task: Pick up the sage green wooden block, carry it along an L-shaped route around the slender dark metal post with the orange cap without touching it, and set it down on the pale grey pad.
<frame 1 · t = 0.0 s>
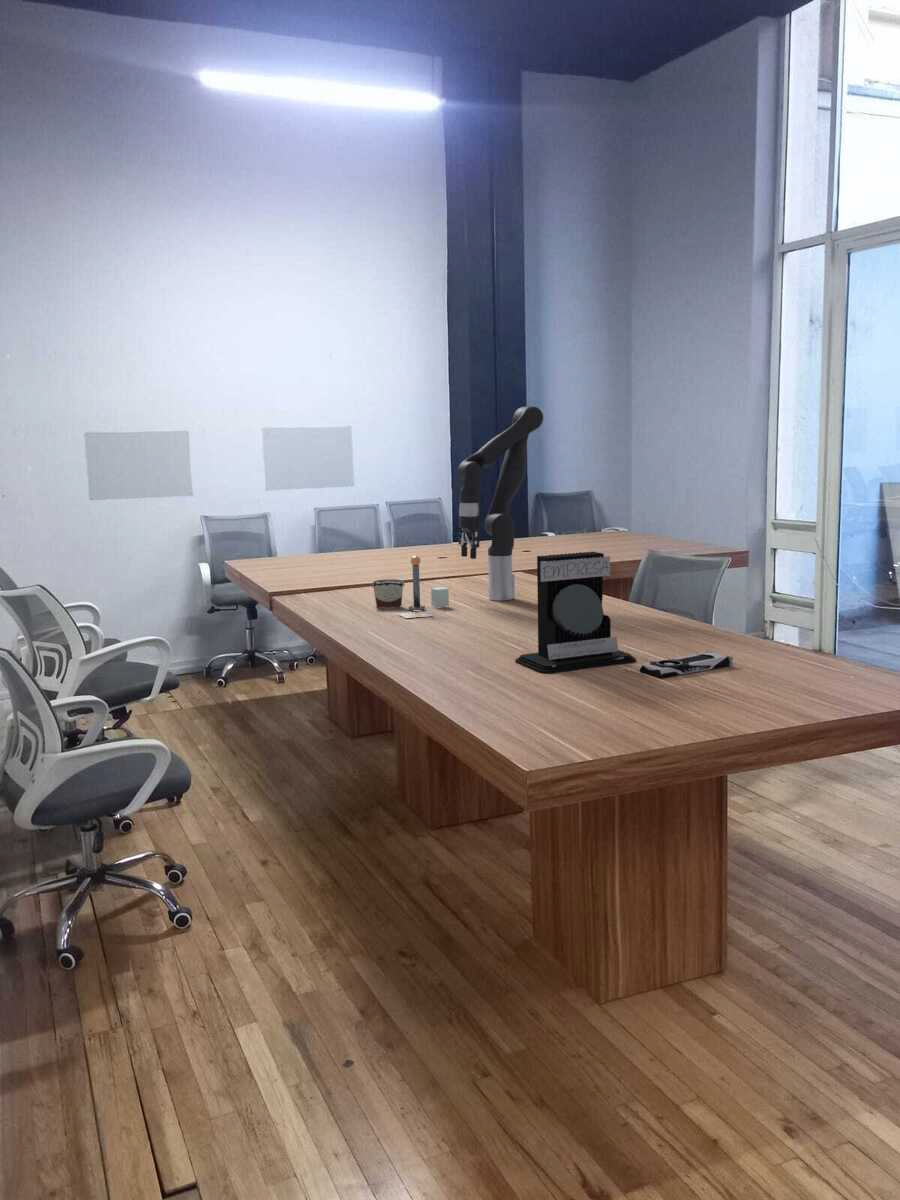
hand: (468, 557, 386), 17 cm above the table, tool pointing down, fingers open, 8 cm apart
green block: (440, 606, 380), on the table
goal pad: (414, 615, 362), on the table
award: (575, 662, 285), on the table
food container: (390, 606, 384), on the table
metal post: (417, 610, 374), on the table
graphics card: (684, 671, 272), on the table
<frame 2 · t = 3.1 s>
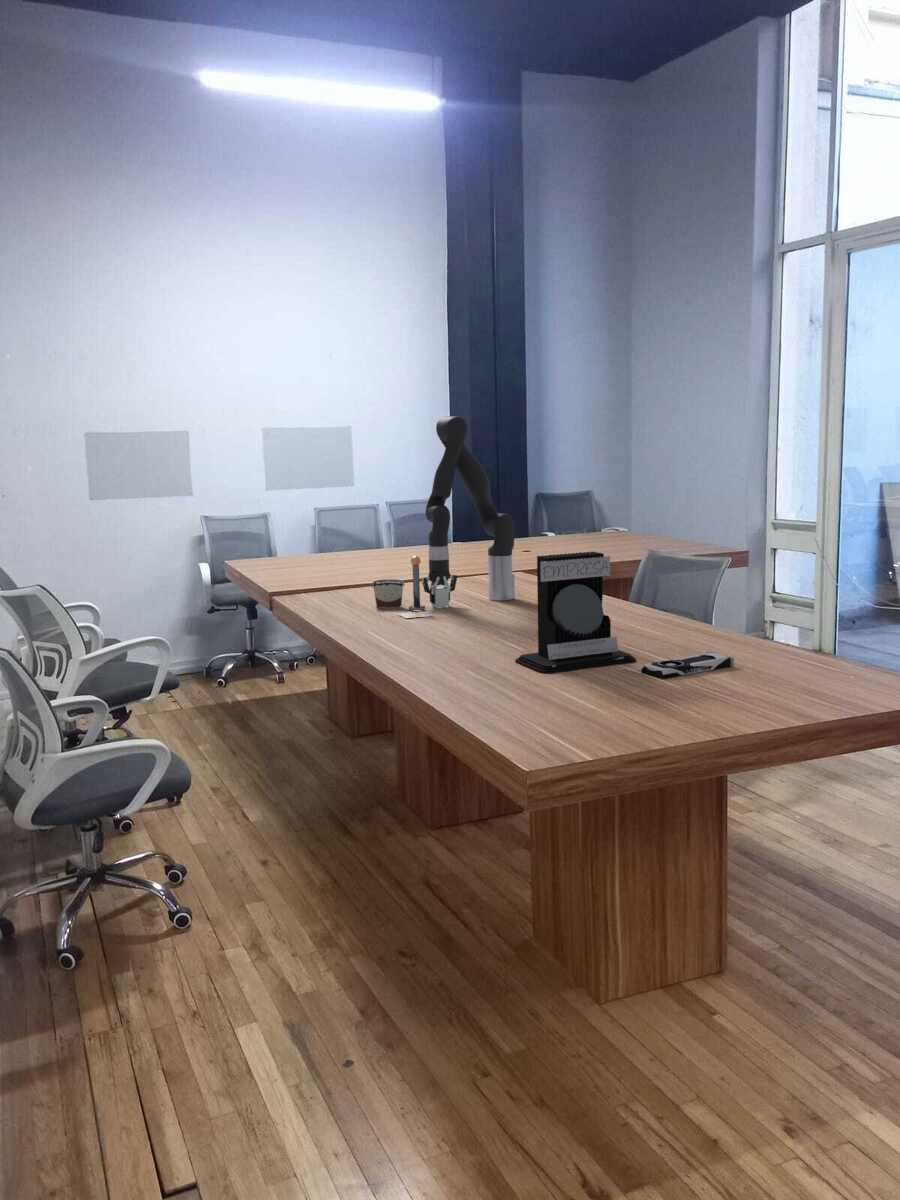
hand: (440, 602, 380), 1 cm above the table, tool pointing down, fingers closed on green block, 5 cm apart
green block: (440, 606, 380), on the table, touching gripper
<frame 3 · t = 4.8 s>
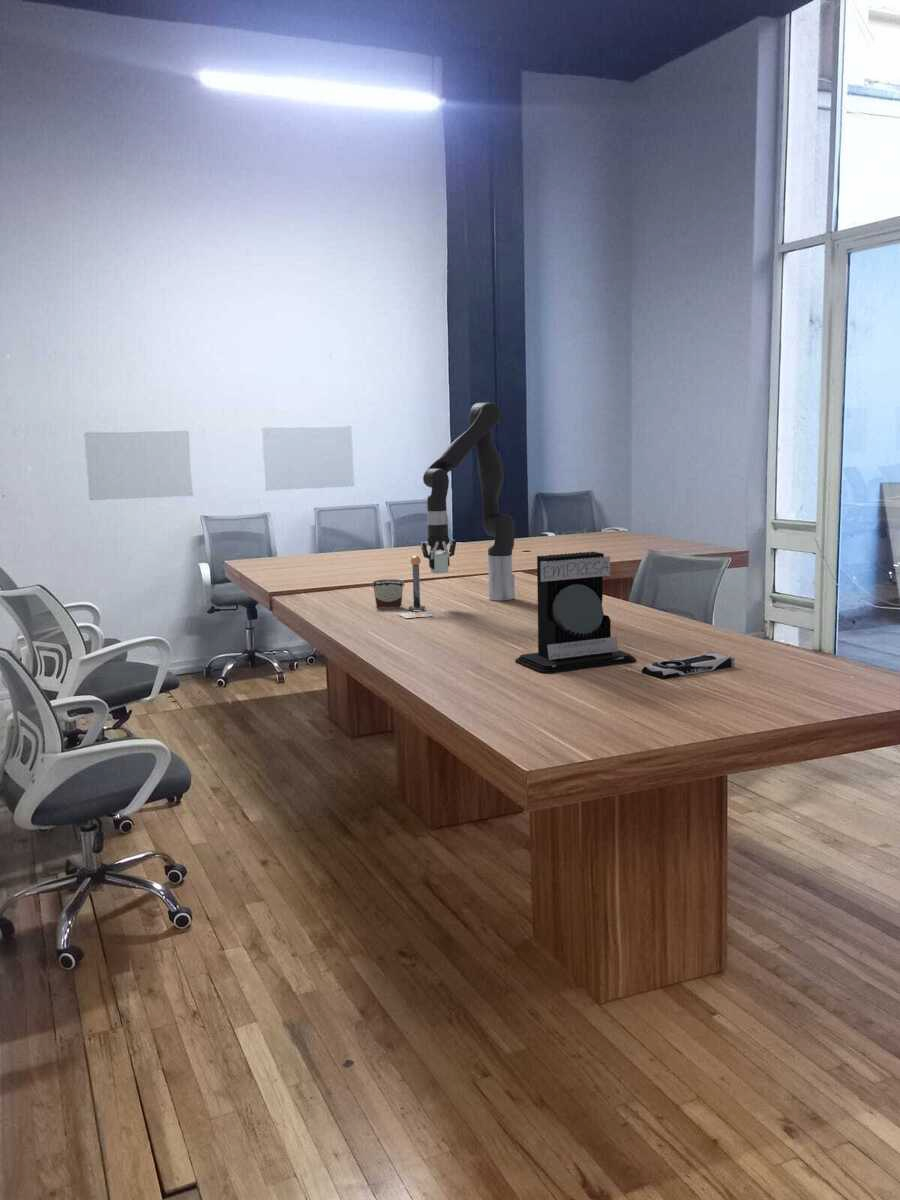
hand: (439, 568, 378), 14 cm above the table, tool pointing down, fingers closed on green block, 5 cm apart
green block: (439, 572, 378), point 13 cm above the table, touching gripper
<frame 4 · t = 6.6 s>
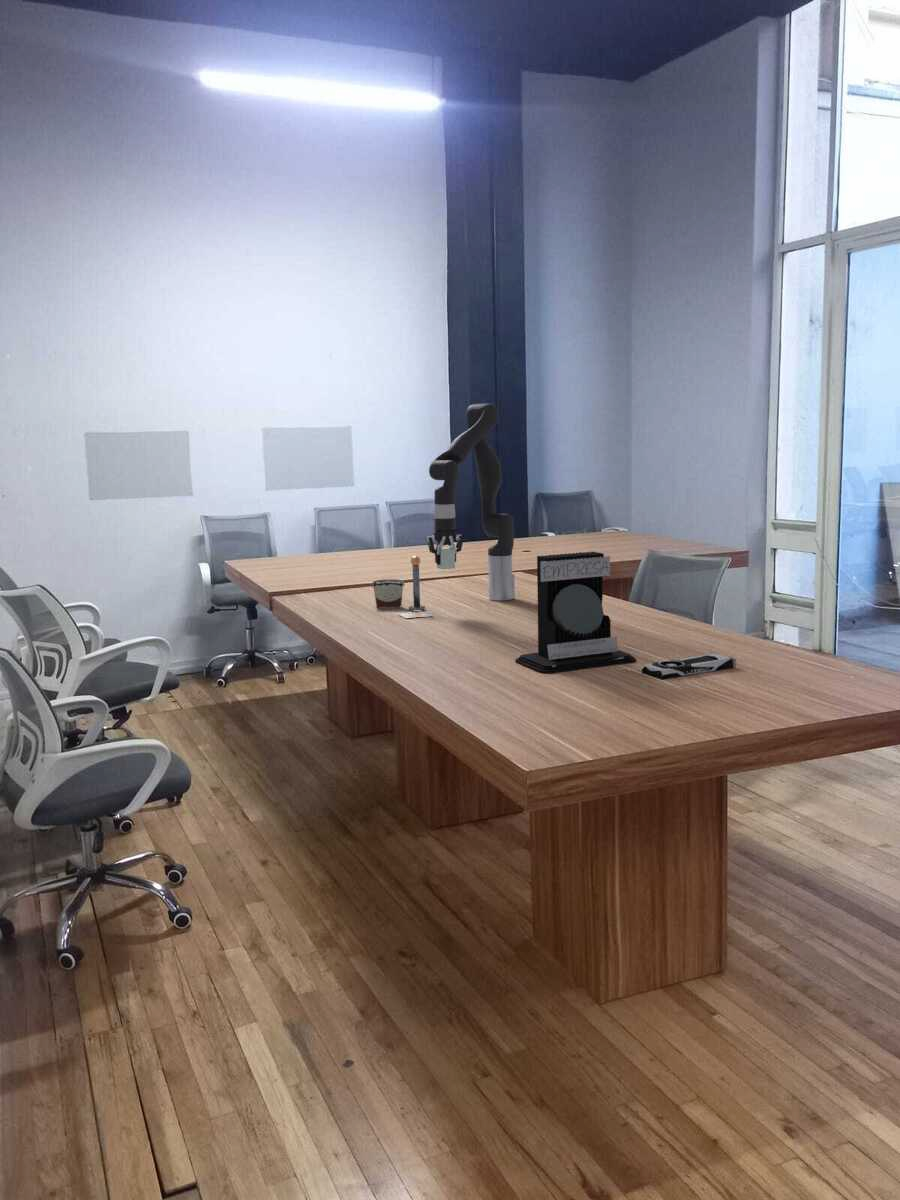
hand: (445, 564, 364), 18 cm above the table, tool pointing down, fingers closed on green block, 5 cm apart
green block: (445, 568, 364), point 16 cm above the table, touching gripper
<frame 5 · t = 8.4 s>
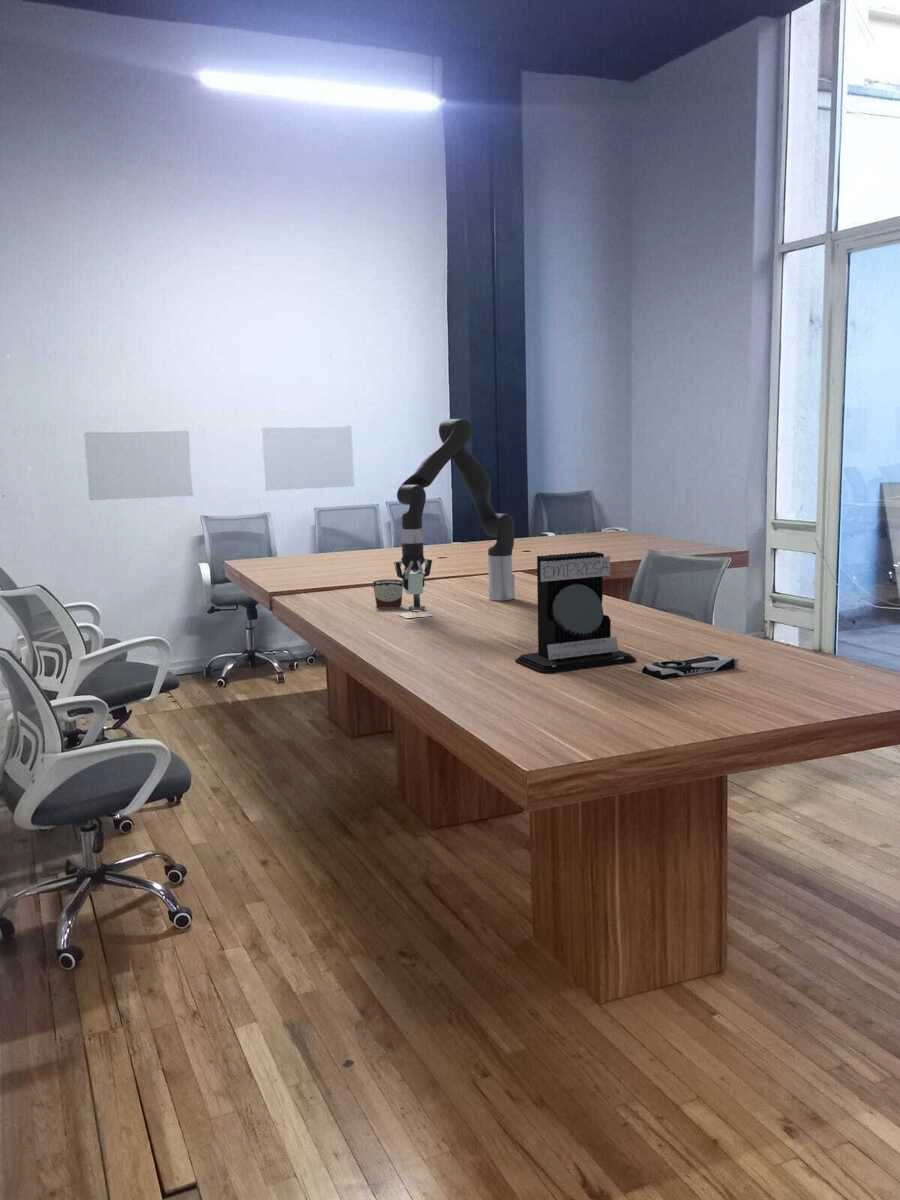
hand: (413, 588, 361), 10 cm above the table, tool pointing down, fingers closed on green block, 5 cm apart
green block: (414, 592, 361), point 8 cm above the table, touching gripper
when the fingers open (3 cm above the table, at t = 10.1 s): green block drops 1 cm, resting on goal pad.
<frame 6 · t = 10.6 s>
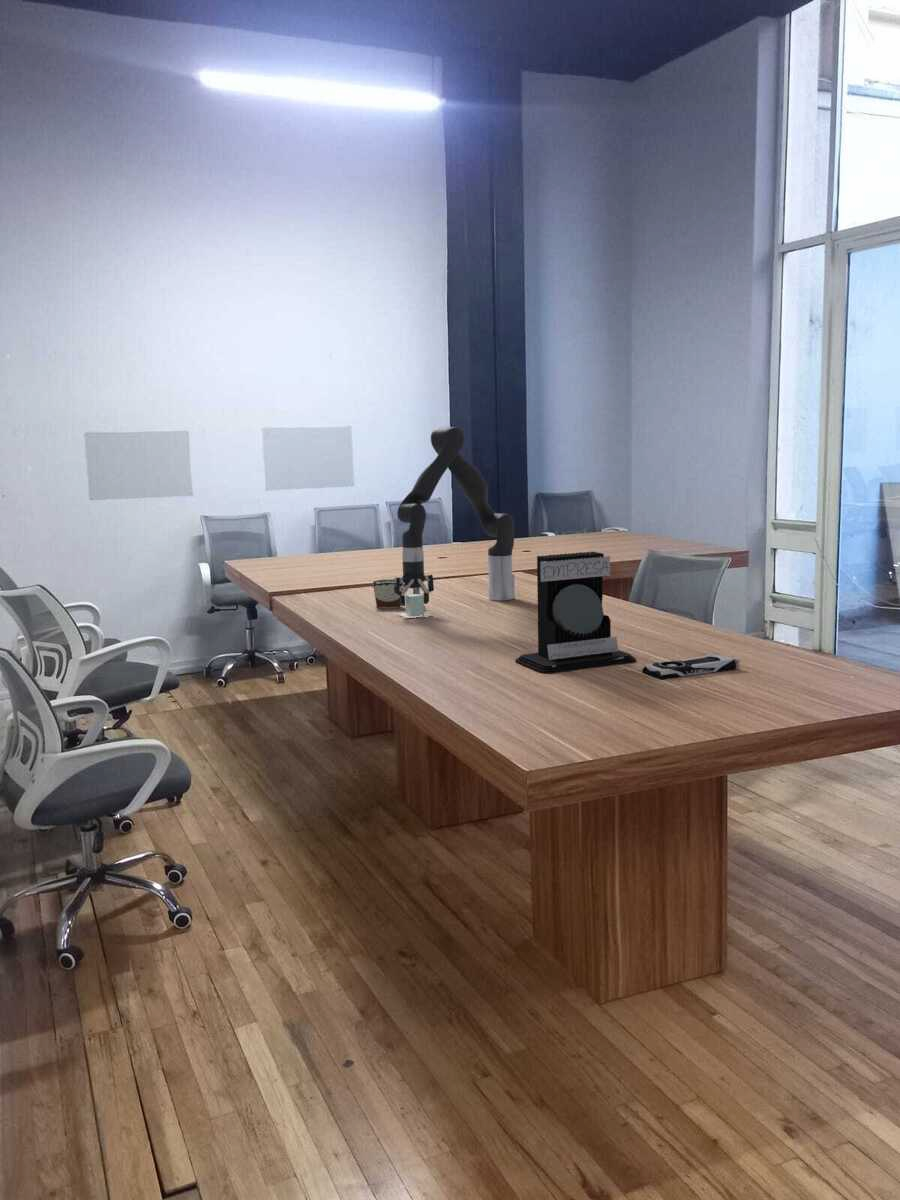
hand: (414, 604, 362), 4 cm above the table, tool pointing down, fingers open, 8 cm apart
green block: (415, 614, 362), resting on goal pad
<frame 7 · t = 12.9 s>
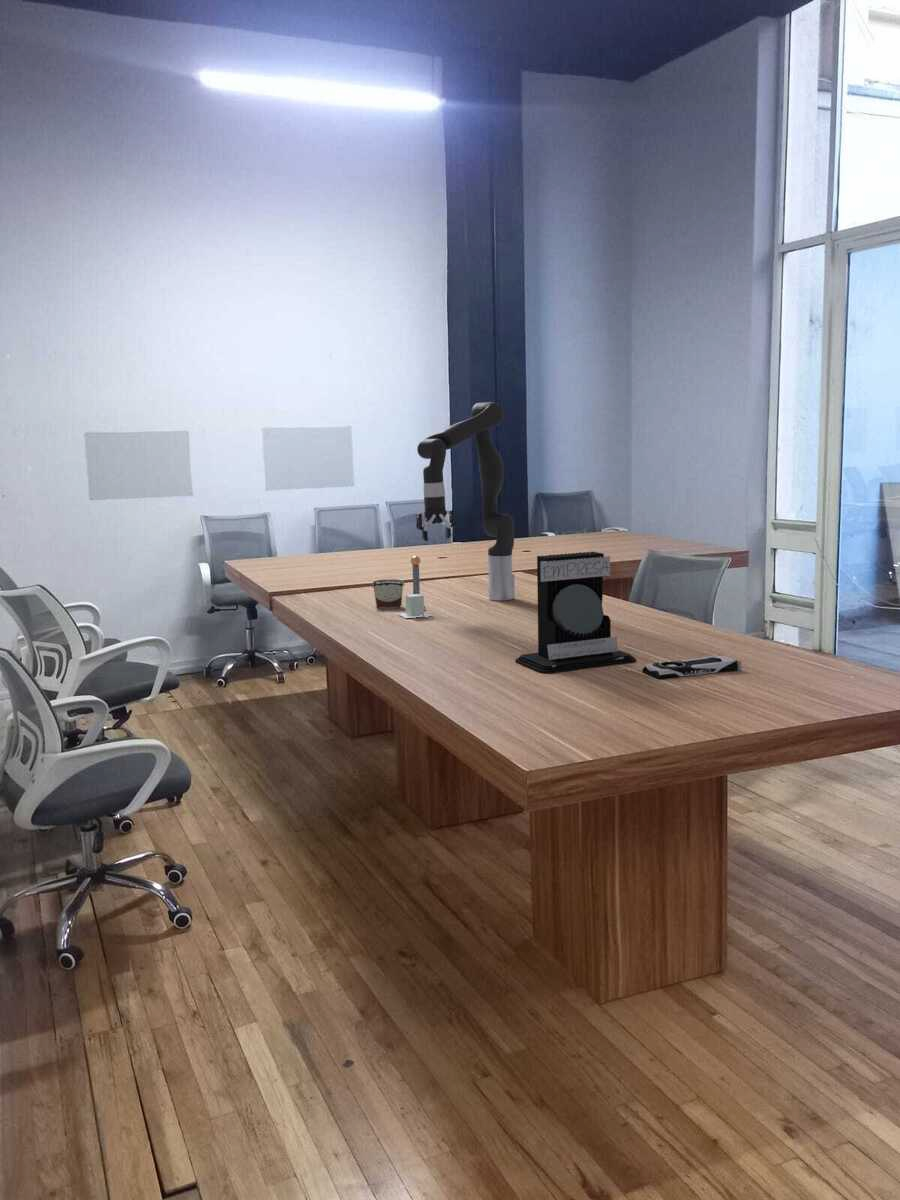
hand: (436, 539, 367), 26 cm above the table, tool pointing down, fingers open, 8 cm apart
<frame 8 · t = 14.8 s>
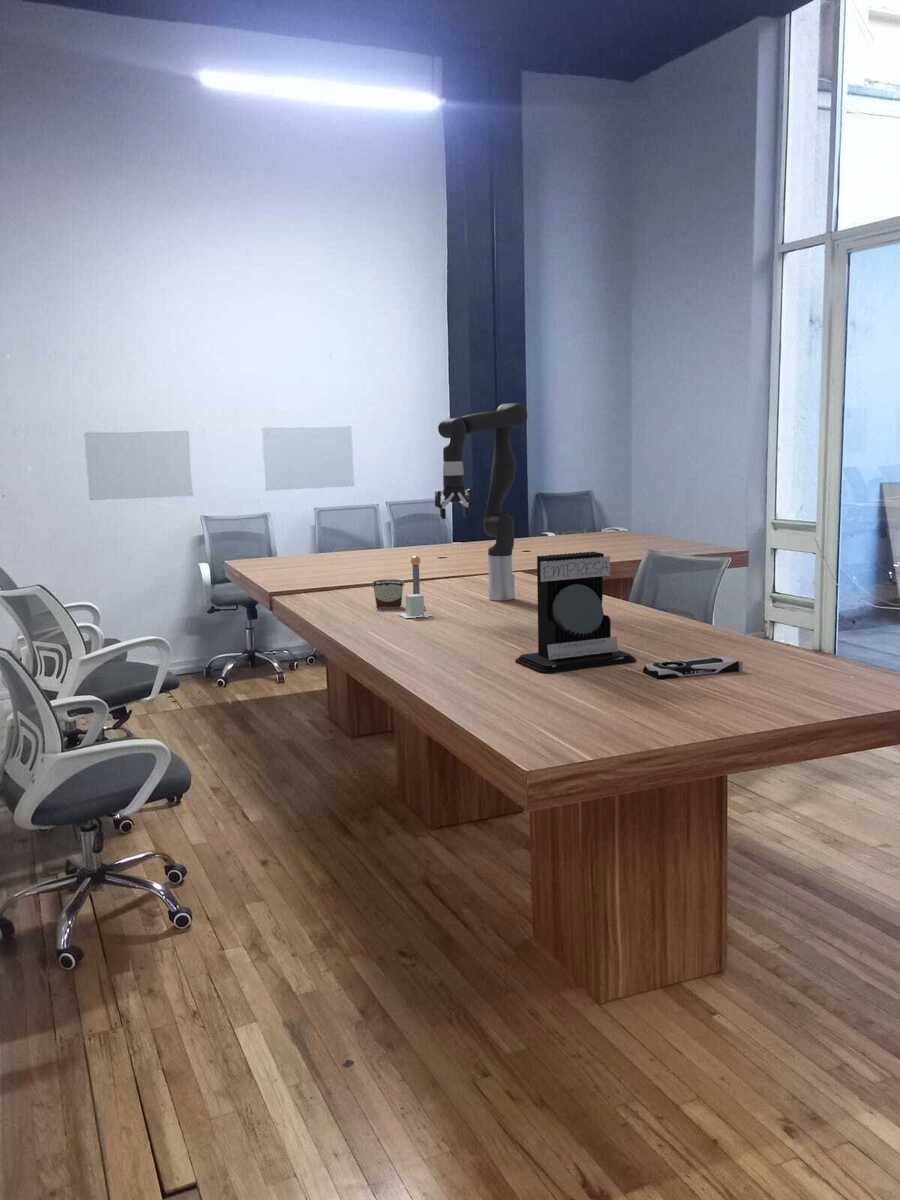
hand: (454, 518, 373), 33 cm above the table, tool pointing down, fingers open, 8 cm apart
at the end: green block 0.1 cm off-centre on the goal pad, point 0.4 cm above the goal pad's base; green block tilted 0°; metal post moved 0.0 cm from its start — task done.
